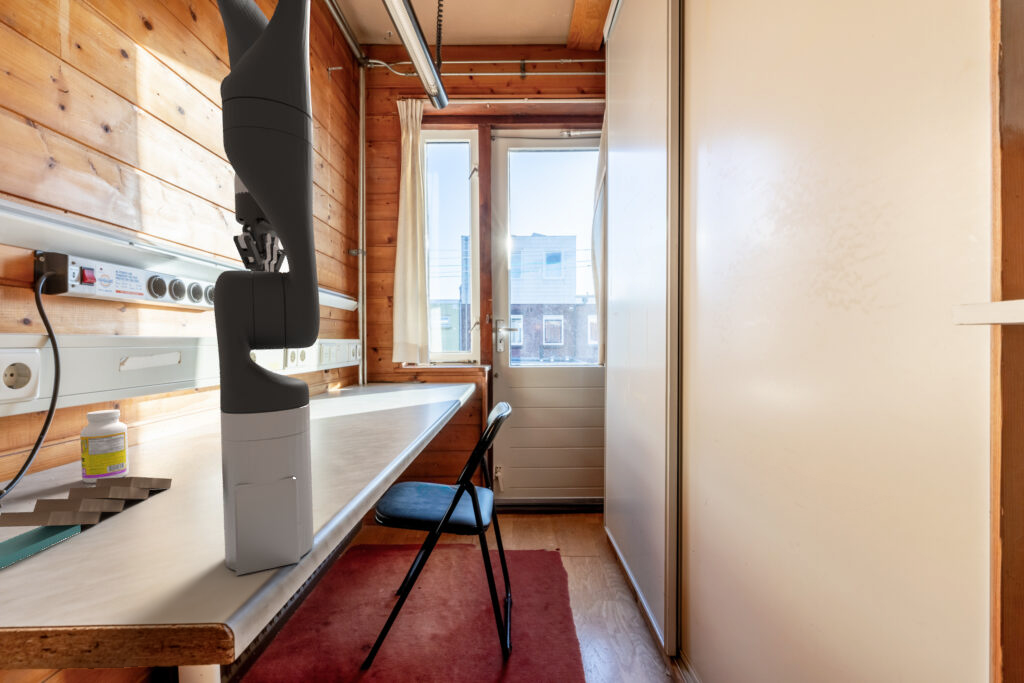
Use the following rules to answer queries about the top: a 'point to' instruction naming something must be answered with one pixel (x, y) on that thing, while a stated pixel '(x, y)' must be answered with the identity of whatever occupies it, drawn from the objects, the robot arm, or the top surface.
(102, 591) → the top surface
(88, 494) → the domino
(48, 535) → the domino
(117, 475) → the supplement bottle
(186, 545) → the top surface
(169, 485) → the domino
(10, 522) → the domino
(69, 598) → the top surface
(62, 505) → the domino
